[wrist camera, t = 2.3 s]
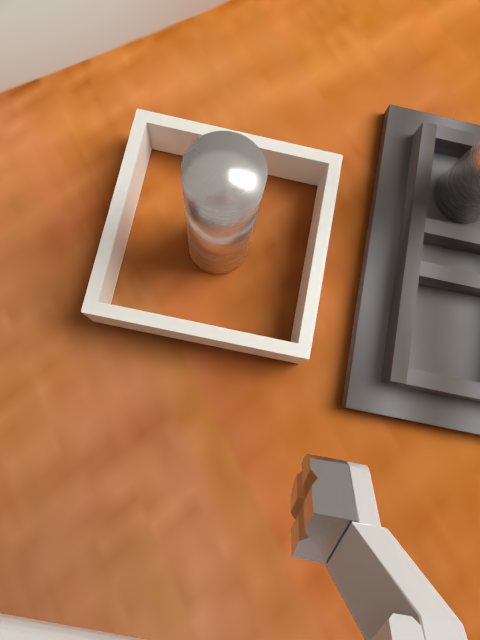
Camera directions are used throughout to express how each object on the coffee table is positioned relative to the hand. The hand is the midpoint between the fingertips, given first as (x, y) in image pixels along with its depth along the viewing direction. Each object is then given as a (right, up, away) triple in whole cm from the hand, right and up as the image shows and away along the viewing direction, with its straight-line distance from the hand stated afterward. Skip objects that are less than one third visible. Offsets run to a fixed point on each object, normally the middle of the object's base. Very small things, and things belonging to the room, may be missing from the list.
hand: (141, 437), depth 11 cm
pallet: (+17, +7, +20) cm, 27 cm away
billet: (+1, +8, +19) cm, 21 cm away
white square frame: (+1, +8, +19) cm, 21 cm away
